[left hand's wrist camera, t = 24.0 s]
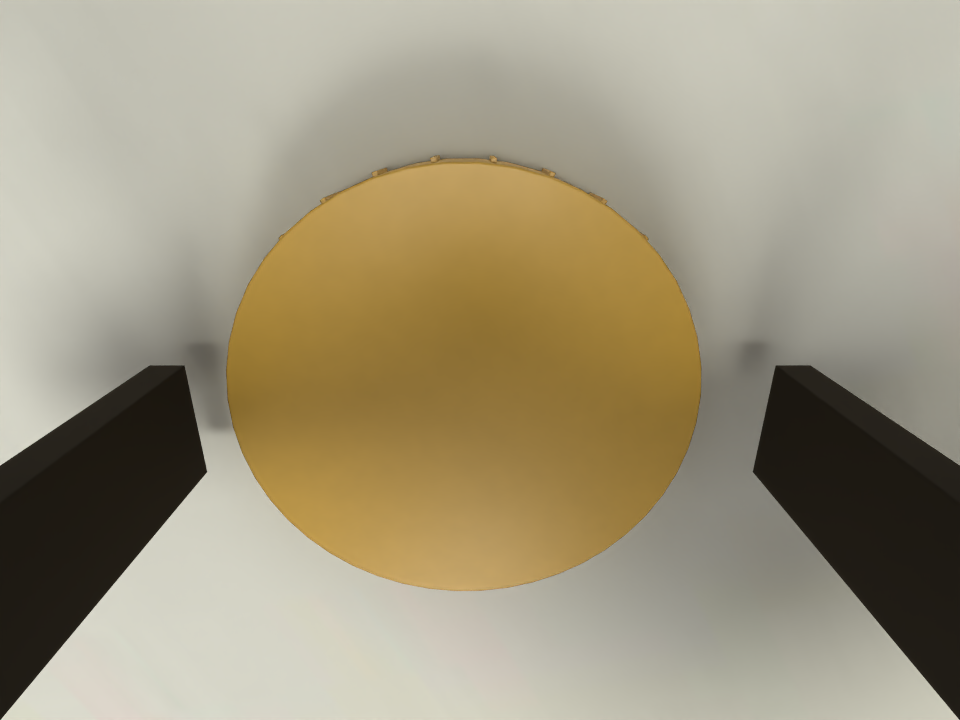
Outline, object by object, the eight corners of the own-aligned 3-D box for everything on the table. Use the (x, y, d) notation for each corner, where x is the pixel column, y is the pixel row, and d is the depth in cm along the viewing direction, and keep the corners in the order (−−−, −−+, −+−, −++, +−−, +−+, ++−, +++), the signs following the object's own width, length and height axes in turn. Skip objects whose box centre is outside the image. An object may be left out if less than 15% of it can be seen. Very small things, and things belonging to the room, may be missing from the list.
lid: (549, 589, 16) (558, 643, 15) (205, 460, 15) (169, 504, 13) (761, 282, 13) (805, 304, 11) (343, 63, 11) (319, 48, 9)
